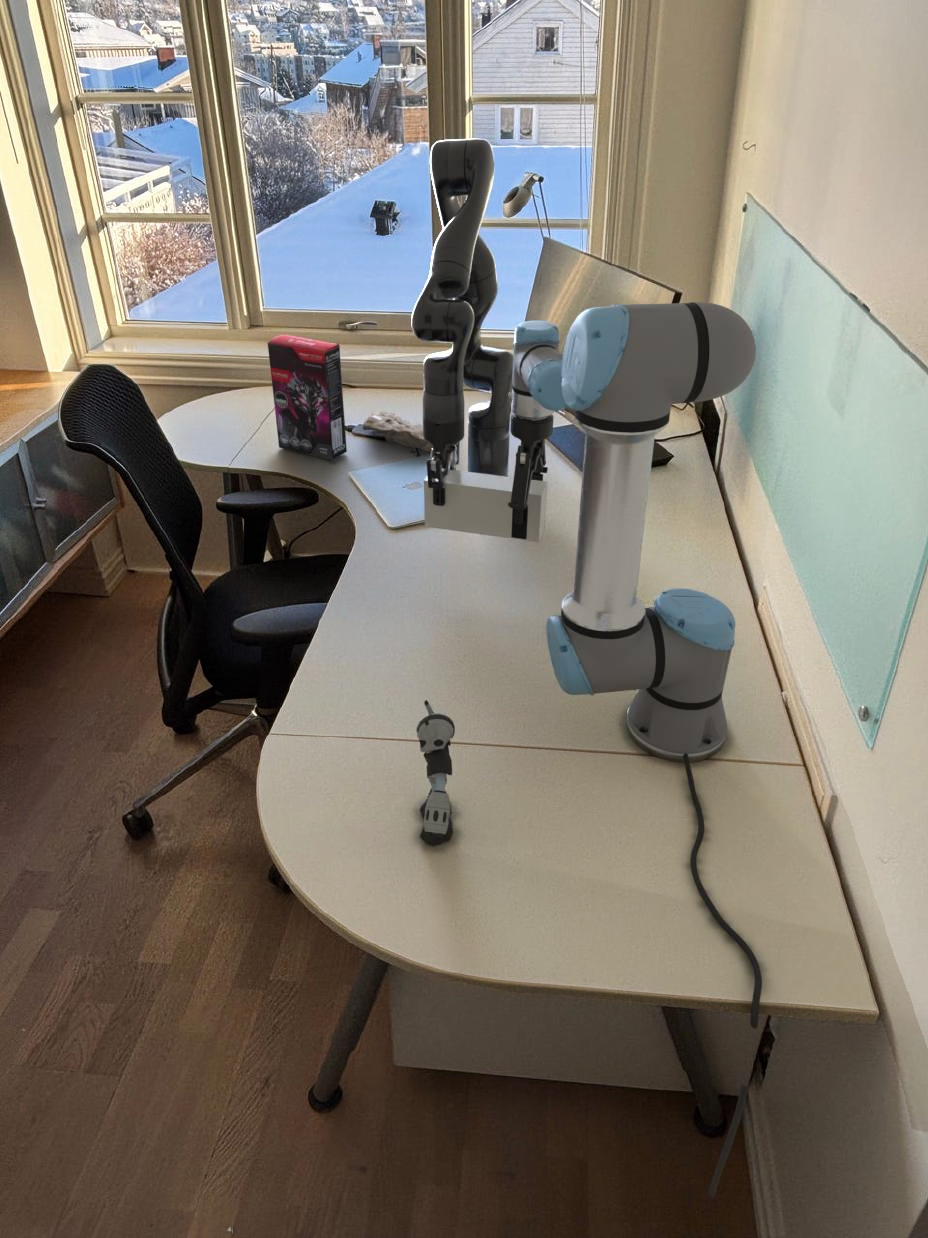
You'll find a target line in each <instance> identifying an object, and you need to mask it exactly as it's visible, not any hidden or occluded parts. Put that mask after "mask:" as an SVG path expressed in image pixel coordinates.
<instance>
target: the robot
mask: <svg viewBox="0 0 928 1238" xmlns="http://www.w3.org/2000/svg"><path fill="white" fill-rule="evenodd" d="M423 704H424V706H425V708H426V711H427V714H428V715H426V716H424V717H423V718H422V719H421V720H419V721H418V724H417V726H416V728H415V730H416V733H417V736H416V737H417V738H418V741H419V751H420V752H421V753H423V757H424V760H425V762H426V778H427V779H428V782H429V784H430V787H431V788H430V789H429V792H428V794H427V798H426V799H425V801H424V802H423V803H422V804H421V805H420V807H419V813H420V815H421V818H423V827H422V828H421V829H422V830H421V831H420V834H419V838H420V839H421V840H422V841H423V842H424V843H425V845H429V846H440V845H442V844H444V843H447V842H449V841H451V839H452V836H453V833H454V831H453V830H454V829H453V822H452V819H451V815H452V814H453V811H452V802H451V799H450V795H449V793H447V791H446V785H447V784H448V778H447V775H448V776H453V760H452V757H451V755H450V746H452V743H451V739H454V738H453V737H454V736H455V731H456V727H455V723H454V721H453V719H452V718H450V717H449V716H447V715H445V714H444V713H441V712H435V711H434V710H433V708H432V707H431V705H430V702H429V701H428V700H427V699H425V700H424V703H423Z"/></svg>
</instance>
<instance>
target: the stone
mask: <svg viewBox="0 0 928 1238" xmlns="http://www.w3.org/2000/svg"><path fill="white" fill-rule="evenodd" d="M362 430H363V431H374V432H375V434H376V435H378V436H380V437H381V436H382V437H384V439H385V441H388V442H390V443H391V442H392V443H393V442H394V441H395V442H396V443H398V444H401V445H405V447H406V446H407V447H409V448H414V449H421V450H422V451H425V452H429V453H431V449H433V445H432V444H431V443H430V442H428V441H426V440H425V439H424V437H423V424H420V423H414V422H410V421H408V420H407V419H403V418H401V417H400V416H398V415H396V413H394V412H393V413H392V412H388V411H378V412H372V413H370V414H369V415H368V416H367V417H366V419H365V420H364V422H363V423H362Z"/></svg>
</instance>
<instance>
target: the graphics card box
mask: <svg viewBox="0 0 928 1238" xmlns="http://www.w3.org/2000/svg"><path fill="white" fill-rule="evenodd" d="M340 347H341V346H340V343H335V342H333V343H332V342H328V341H322V340H317V339H311V338H306V337H300V336H295V335H289V334H285V333H282V334H279V335H277V336H274V337H273V338H271V339H270V340H268V341H267V351H268V359H269V367H270V369H269V370H270V377H271V378H270V379H271V385H272V386H271V387H272V395H273V403H274V412H275V413H274V414H275V423H276V433H277V441H278V442H277V443H278V448H279V449H283V450H287V451H288V450H289V451H292V452H297V453H301V454H305V455H309V456H314V457H317V458H322V459H326V460H330V461H333V460H335V459H337V458H339V457H340V456H342V455H344V454H345V453H347V451H348V449H347V447H348V446H347V434H346V420H345V407H344V406H345V405H344V393H343V380H342V364H341V363H342V362H341V349H340Z"/></svg>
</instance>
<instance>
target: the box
mask: <svg viewBox="0 0 928 1238" xmlns="http://www.w3.org/2000/svg"><path fill="white" fill-rule="evenodd" d="M442 471H445V469H442ZM513 480H514V476H513V477H512V476H508V477H506V476H497V475H489V474H481V473H473V472H468V471H464V470H457V469H456V470H450V472H449V475H448V476H447V477H446V486H445V504H444V506H438V505H434V504H433V488H428V476H427V475H426V477H425V478H424V479H423V503H424V504H423V505H424V506H423V507H424V509H423V510H424V527H426V528H432V529H439V530H447V531H453V532H455V531H456V532H459V533H460V532H462V533H467V534H475V535H482V536H489V537H498V538H505V539H511V540H520V541H525V542H526V541H527V542H534V543H539V542H540V540H541V537H542V536H543V533H544V531H545V529H546V518H547V517H546V515H547V499H548V483H549V481H546V480H545V481H544V480H543V481H538V480H531V484H530V490H529V495H528V501H527V505H528V522H527V538H526V539H519V538H512V537H511V533H512V509H513V508H510V506H508V502H511V495H512V488H513ZM436 481H438V479H436Z"/></svg>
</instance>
